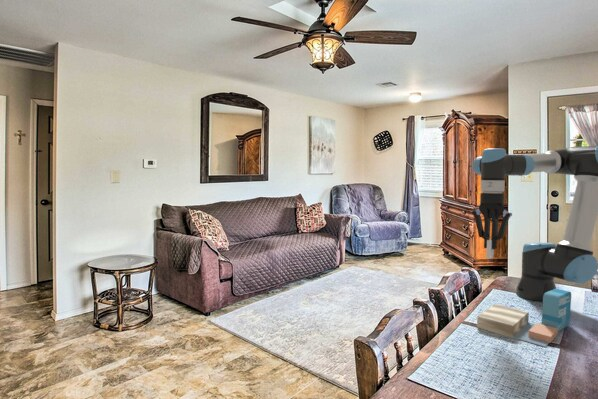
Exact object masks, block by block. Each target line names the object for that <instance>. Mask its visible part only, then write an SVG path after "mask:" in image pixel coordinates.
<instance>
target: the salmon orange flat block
mask: <svg viewBox="0 0 598 399" xmlns="http://www.w3.org/2000/svg"><path fill="white" fill-rule="evenodd" d="M534 324H535V325H534V326H533V327H532V328H531V329H530V330H529V335H528V337H531V338H534V339H538V340H541V341H545V342H548V343H549V344H551V343H552V342H553V341H554V339H556V337H558V334H559V332H558V328H554V327H551V326H547V325H543V324H542V323H539V322H536V323H534Z"/></svg>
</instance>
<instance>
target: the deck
mask: <svg viewBox="0 0 598 399" xmlns="http://www.w3.org/2000/svg"><path fill="white" fill-rule="evenodd" d="M529 315H530V312H529V311H526V310H523V309H518V308H513V307H510V306H505V305H501V304H497V303H495V304H493V305H492V306H490V307H488V309H485V311H483V312H482V313H480V314H479V315H477V322H476V328H478V329H481V330H484V331H487V332H488V331H489V332H492V333H495V334H498V335H502V336H505V337H508V338H512V339H514V338H513V336H514V335H515V334H516V333H518V332H519V331H520V330H521V329H522V328H523V327H524V326H525V325H526V324H527V323H528V322H529V319H530V318H529Z"/></svg>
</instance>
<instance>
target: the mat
mask: <svg viewBox="0 0 598 399" xmlns="http://www.w3.org/2000/svg"><path fill="white" fill-rule="evenodd" d="M535 324H536V323H533V322H529V321H528V323H527V324H526V325H525V326H524V327H523V328H522V329H521V330H520V331H519V332H518V333H516V334H515V335H514V336H513V338H512V339H515V340H519V341H522V342H525V343H529V344H533V345H536V346H540V347H543V348H547V346H548V345H549V344H550V343H548V342H545V341H541V340H538V339H534V338H531V337H528V335H529V330H530V329H531V328H532V327H533V326H534V325H535ZM559 332H560V331H558V333H559Z"/></svg>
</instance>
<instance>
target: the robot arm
mask: <svg viewBox="0 0 598 399" xmlns="http://www.w3.org/2000/svg"><path fill="white" fill-rule="evenodd" d="M472 171H473V172H474V173H475V174H476V175H477V176H480V191H481V193H480V195H479V196H480V202H479V203H480V204H479V206H478V208H476V209H474V210H472V212H471V213H472V215H473V216H474V220H475V224H476V229H477V235H478V237H479V238H482V239H483V241H484V242H483V248H484V249H486V254H485V255H486V259H493V258H494V254H495V252H494V250H496V249H497V247H498V241H499V240H501V239H503V238H504V236H505V232H506V228H507V226H508V223H509V219H510V218H511V217H512V216H513V213H512V212H509V211H508V210H506V207H505V205H504V204H505V194H504V192H505V184H506V183H505V182H506V176H514V177H515V176H518V177H519V176H520V177H522V176H527V175H531V174H532V173H546V174H550V175H551V174H559V175H568V176H569V175H570V176H573V178H574V179H575V180H576V182H577V184H576V187H575V191H574V194H573V195H574V196H573V198H572V203H571V206H570V210H569V215H568V218H567V223H566V227H565V230H564V235H563V238H562V240H561V241H559V242H557V243H554V242H526V243H524V245H523V246H522V247H523V248H522V251H521V252H522V253H521V257H522V258H521V277H520V279H519V281H518V284H517V286H516V290H515V291H516V292H515V294H516V295H517V296H519V297H521V298H524V299H527V300H530V301H536V302H542V303H543V296H544V294H545V293H546V292H548V291H551V290H553V289H557V287H556V284H555V278H556V279H560V280H563V281H565V282H568V283H575V284H577V285H578V284H579V285H582V284H586V283H588V282H590V281H591V280H593V278H594V277H595V276H596V274H597V272H598V259H597V258H596V257H595V256H594V255H593V254H594V250H593V249H592V247H591V242H592V239H593V233H594V231H595V226H596V223H597V219H598V145H586V146H585V145H584V146H571V147H566V148H560V149H556V150H555V149H553V150H547V151H544V153H543V152H542V153H525V154H524V153H523V154H507V151H506V149H505V148H500V147H499V148H485V149H483V151H482V154H481V156H478V157H476V158H475V159H474V160H473V163H472ZM481 214H482V216H483V221H484V225H483V221H482V217H481ZM501 216H502V217H503V218H502V220H501V224H500V225H499V218H500V217H501ZM499 226H500V227H499Z"/></svg>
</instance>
